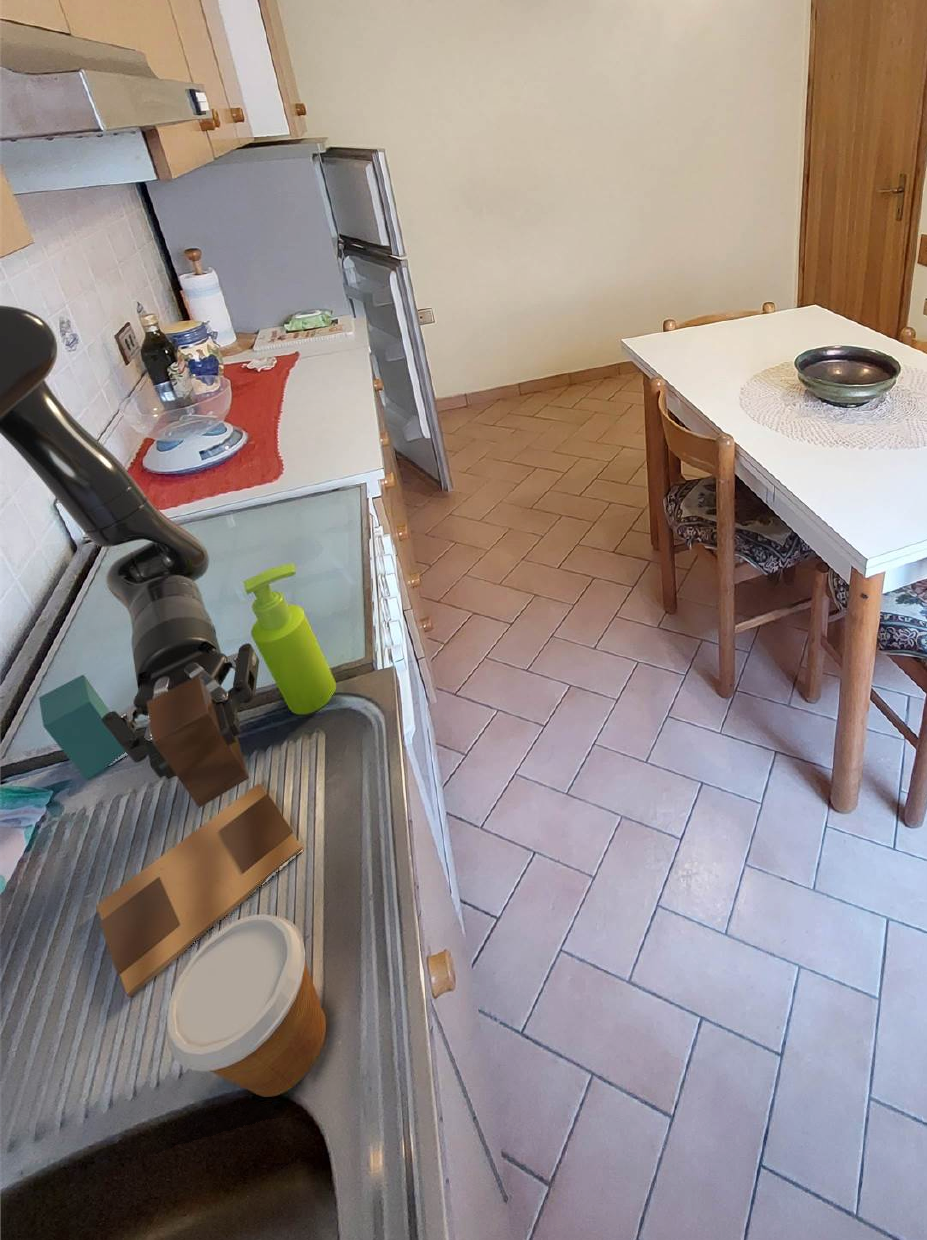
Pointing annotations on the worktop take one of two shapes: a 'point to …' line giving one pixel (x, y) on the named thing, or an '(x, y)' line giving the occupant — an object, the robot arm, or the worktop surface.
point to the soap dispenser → (289, 645)
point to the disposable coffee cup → (248, 1007)
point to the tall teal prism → (80, 726)
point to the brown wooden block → (195, 741)
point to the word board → (194, 887)
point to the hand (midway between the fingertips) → (199, 754)
